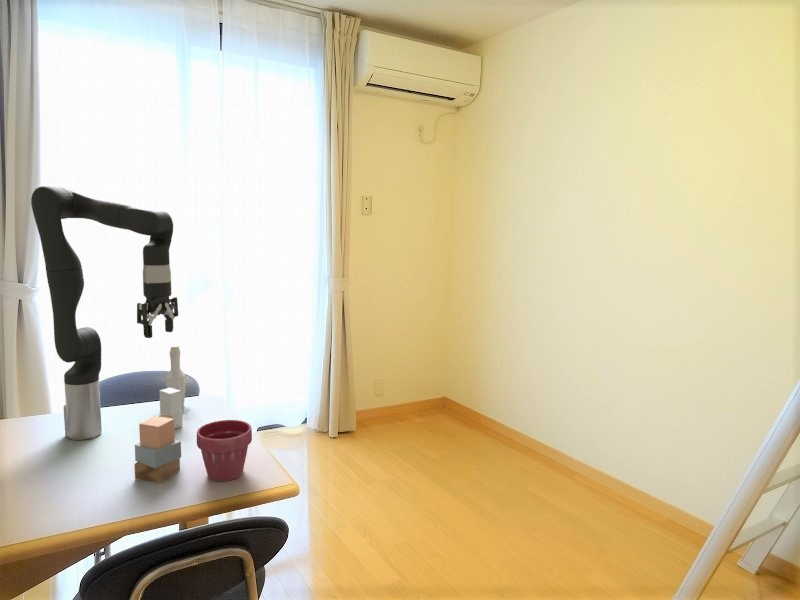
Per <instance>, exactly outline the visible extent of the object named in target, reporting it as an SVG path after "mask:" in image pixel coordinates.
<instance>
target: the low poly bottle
mask: <svg viewBox="0 0 800 600" xmlns="http://www.w3.org/2000/svg"><path fill="white" fill-rule="evenodd" d="M169 358H170V359H169V360H170V370H169V371H168V373H167V375H166V377H165V389H167V388H173V389H177V390H180V391H181V394H182V408H183V407H184V406H185V398H186V397H185V395H186V388H187V383H186V382H187V381H186V379H187V378H186V373H185V372H183V370H182V369H181V350H180V346H179V345H171V346H170V350H169Z"/></svg>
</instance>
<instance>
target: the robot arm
mask: <svg viewBox="0 0 800 600" xmlns="http://www.w3.org/2000/svg"><path fill="white" fill-rule="evenodd" d="M30 198H31V199H30V200H31V201H30V205H31V210H32V214H33V217H34V221H35V224H36V227H37V231H38V234H39V235H38V236H39V239H40V242H41V244H40V245H41V249H42V252H43V253H42V254H43V258H44V259H43V260H44V264H45V273H46V279H47V280H46V281H47V284H48V289H49V295H50V303H51V308H52V309H51V310H52V321H53V335H54V336H53V338H54V340H53V341H54V346H55V350H56V353H57V356H58V357H59V358H60V360H61V361H63V362H65V363H73V364H72V366H71V367H70V368H68V370H66V371H65V372H64V375H63V380H64V381H63V382H64V393H65V395H64V397H65V404H64V405H63V420H64V433H65V434H64V436H66V437H67V438H68V439H69V440H73V441H74V440H75V441H82V440H84V441H85V440H91V439H93V438H95V437H98V436H100V435H101V434H102V429H103V428H102V411H101V409H102V408H101V393H100V391H101V390H100V373H101V371H102V369H101V368H102V341H101V338H100V335H99V332H97V330H95V329H94V328H93V327H88V326H86V327H80V328H77V321H76V319H77V318H76V314H77V313H76V312H77V308H78V305H79V302H80V300H81V297H82V296H83V291H84V287H85V279H84V274H83V273H84V272H83V266H82V262H81V260H80V258H79V256H78V255H77V253H76V252H75V250H74V249H73V247H72V245H70V242H69V241H68V239H67V238H66V235H65V232H64V228H63V223H62V220H65V219H85V220H91V221H95V222H96V223H100V224H101V225H104V226H107V227H112V228H117V229H122V230H126V231H127V230H128V231H130V232H133V233H136V234H139V235H144V236H149V241H148V243H147V244H145V245H144V246H143V247H142V263H143V265H142V266H143V267H142V268H143V269H142V285H143V287H142V288H143V290H142V291H143V293H142V295H143V296H144V297H145V298H146V299H145V302H137V304H136V323H137V324H139V325H142V326H143V336H144V338H145V339H146V338H147V339H151V338H153V325H152V324H153V321H154V320H155V319H156V318H157V316H160V315H162V316H163V317H164V326H165V329H164V330H165V332H166V333H173V331H174V320H175V318H177V317H178V316H179V305H178V297H177V296H172V271H171V266H170V265H171V264H170V261H171V260H170V247H171V245H172V238H173V234H174V233H173V232H174V221H173V219H172V216H171V215H170V214H169V213H168V212H167V211H164V210H148V209H142V208H141V209H140V208H137V207H136V206H134V205H129V204H124V203H121V202H114V201H107V200H100V199H95V198H91V197H88V196H85V195H83V194H80V193H77V192H75V191H73V190H69V189H68V188H64V187H57V186H39V187H37V188H35V189H34V190H33V193H31V197H30Z"/></svg>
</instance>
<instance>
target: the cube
mask: <svg viewBox="0 0 800 600" xmlns="http://www.w3.org/2000/svg"><path fill="white" fill-rule="evenodd" d="M159 416H160V415H154V416H152V417H150V418H148V419H146V420H144V421H142V422H140V423H139V425H138V426H139V429H138V430H139V443H140V446H146V447H151V448H157V449H160V448H162V447H164V446H165V445H167V444H169V443H171V442H173V441H174V440H176V438H175V435H176V434H175V429H174V419H172V418H165V417H159Z"/></svg>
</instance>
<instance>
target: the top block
mask: <svg viewBox="0 0 800 600" xmlns="http://www.w3.org/2000/svg"><path fill="white" fill-rule="evenodd" d="M134 457H135V460H134V461H135V462H136V463H137V462H140V463H142V464H145V465H148V466H150V467H153V468H158V467H160V466H162V465H165V464H167V463H169V462H172V461H174V460H176V459H178V458H180V459H181V458H182V441H180V440H177V439H175V440H174V441H173V442H171V443H169V444H167V445H165V446H164V447H162V448H160V449H157V448H151V447H146V446H140V442H138V443H136V444H134Z"/></svg>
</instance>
